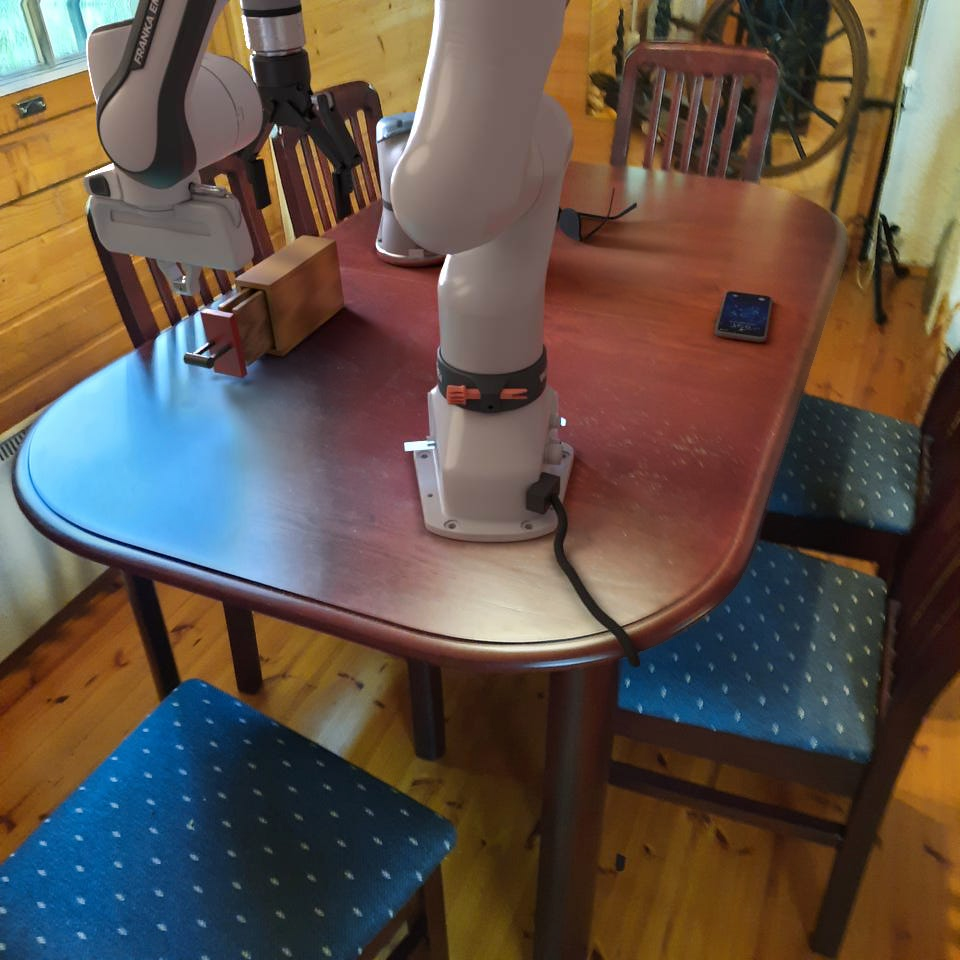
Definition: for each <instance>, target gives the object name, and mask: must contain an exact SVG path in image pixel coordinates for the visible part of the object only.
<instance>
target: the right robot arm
mask: <svg viewBox="0 0 960 960" xmlns="http://www.w3.org/2000/svg"><path fill="white" fill-rule="evenodd" d="M230 1H231V0H138V3H137V7H136V11H135V14H134V17H132V18H128V19H123V20H120V21H115V22H111V23H105V24H100V25H98V26H97V27H95V28H93V29H92V30H91V31H90V32H89V34H88V35H87V38H86V58H87V66H88V73H89V78H90V83H91V87H92V92H93V95H94V99H95V102H96V107H95V125H96V131H97V136H98V139H99V142H100V145H101V147H102V150H103V151H104V153H105V155H106V156H107V158H108V159H109V161H110V162H111V163H110V164H108V165H106V166H104V167H102V168H100V169H97V170H95V171H92V172H91V173H89V174H86V175H85V176H83V178H82V185H83V187H84V190H85V192H86V193H87V194H88V195H90V196H91V197H90V200H89V208H90V213H91V218H92V221H93V225H94V228H95V232H96V234H97V238H98V240H99V242H100V243H101V245H102V246H103V247H104V248H105V249H106V250H107V251H108V252H111V253H118V254H123V255H130V256H137V257H142V258H149V259H154V260H156V261H155V262H156V265H157V267H158V268H159V270H160V271H161V273H162V274H163V275H164V277H165V278H166V279H167V281H169V284H170V289H171V292H172V293H173V294H176V295H177V294H178V295H184V296H188V297H189V296H190V297H195V296H197V295H199V294H200V293H201V286H200V281H199V279H200V276H201V273H202V271H203V268H210V269H215V270H222V271H228V272H238V271H239V270H241V269H243V268H245V267H247V265H249V264H250V263H251V262H252V260H253V258H254V257H255V256H254V255H255V252H254V247H253V243H252V237H251V234H250V232H249V229H248V226H247V223H246V220H245V216H244V214H243V212H242V206H241V203H240V201H239V199H238V197H235V195H234V194H233V193H231V192H230V191H229V190H228V189H227V187H224V186H219V185H215V186H213V185H209V184H205V183H204V184H203V183H202V181H201V175H200V171H199V170H202V169H203V168H206V167H208V166H210V165H213V164H215V163H216V162H219V161H221V160H223V159H225V158H226V157H228V156H231V155H230V154H232V153H234V152H236V151H238V150H240V149H242V148H244V147H246V146H247V145H248V144H250V143H251V142H253V141H254V140H255V139H256V138H257V137H258V135H259V134H260V132H261V129H262V125H263V118H264V109H263V102H262V98H261V95H260V92H259V89H258V87H257V85H256V83H255V81H254V79H253V76H252V75H251V74H250V72H249V71H248V70H247V69H246V68H245V67H244V66H243V65H242V64H241V63H240V62H238V61H237V60H235V59H234V58H231V57H229V56H226V55H218V54H215V53H213V52H210V51H207V49H208V46H209V43H210V40H211V37H212V34H213V31H214V28H215V26H216V23H217V22H218V20H219V18H220V16H221V13H222V12H223V11H224V10H225V8H226V6H227V5H228V4H229V3H230ZM565 9H566V10H567V8H566V0H434V9H433V23H432V31H431V38H430V44H429V51H428V55H427V60H426V64H425V69H424V72H423V73H424V74H423V78H422V83H421V87H420V90H419V91H420V92H419V96H418V100H417V105H416V110H415V112H416V113H415V118H414V122H413V126H412V130H411V133H410V136H409V139H408V142H407V145H406V147H405V149H404V151H403V154H402V156H401V158H400V160H399V161H398V163H397V165H396V167H395V169H394V172H393V175H392V179H391V185H390V197H391V203H392V208H393V211H394V214H395V216H396V218H397V220H398V222H399V224H400V226H401V227H402V229H403V230H404V232H405V233H406V234H407V235H408V236H409V237H410V238H411V239H412V240H413V241H414V242H415V243H416V244H418V245H419V246H421V247H422V248H424V249H426V250H428V251H431V252H433V253H437V254H443V255H447V256H446V259H445V262H444V263H443V266H442V267H441V269H440V272H439V277H438V281H437V307H438V324H439V326H438V327H439V340H440V341H439V342H440V345H439V346H438V348H437V354H436V356H437V358H436V363H435V364H436V376H437V384H436V385H435V387H434V386H433V388H432V389H431V390H430V391H428V392H427V406H428V407H427V409H428V424H429V435H426V436H425V438H424V440H423V441H421V440H420V441H410V442H404V451H405V452H409V451H413V454H412V455H413V457H412V458H413V464H414V470H415V475H416V476H415V477H416V480H417V487H418V492H419V498H420V499H419V500H420V503H421V504H420V505H421V510H422V516H423V522H424V526H425V529H426V530H427V531H428V532H429V533H432V534H434V535H437V536H440V537H443V538H448V539H452V540H457V541H466V542H477V543H478V542H480V543H500V542H501V543H502V542H503V543H506V542H518V541H527V540H531V539H536V538H539V537H543V536H546V535H548V534H550V533H552V532H554V531H556V533H555V536H554V539H553V553H554V556H555V559H556V561H557V563H558V565H559V567H560V568H561V570H562V571H563V573H564V574H565V575H566V577H567V579H568V580H569V582H570V584H571V586H572V588H573V589H574V592H576V594H577V596H578V597H579V599H580V600H581V602H582V603H583V605H584V607H585V608H586V609H587V610H588V613H590V614H591V616H592V617H593V618H594V619H595V620H596V621H597V622H598V623H600V624H601V625H602V626H603V627H604V628H605V629H607V631H609V632H610V633H611V634H612V635H613V636H614V637H615V638H616V639H617V641H618V643H620V645H621V647H622V649H623V651H624V653H625V656H626V658H627V661H628V664H629V665H630V666H631V667H633V668H639V667H640V666H641V660H640V657H639V654H638V651H637V648H636V646H635V645H634V643H633V641H632V638H631V637H630V636H629V634H628V633H627V631H626V630H625V629H624V628H623V627H622V626H621V625H620V624H619V623H618V622H617V621H616V620H614V618H613V617H611V616H609V615H608V614H607V613H606V612H605V611H604V610H603V609H602V608H601V607H600V606H599V605H598V604H597V601H595V600H594V598H593V597H592V595H591V594H590V593H589V591H588V589H587V588H586V586H585V585H584V583H583V581H582V579H581V578H580V576H579V574H578V573H577V571H576V570H575V568H574V566H573V565H572V564H571V563H570V561H569V560H568V558H567V556H566V553H565V548H564V546H565V539H566V536H567V533H568V529H569V519H568V514H567V510H566V509H565V506H564V505H563V504H564V500H565V497H566V492H567V488H568V483H569V480H570V476H571V472H572V469H573V468H572V467H573V464H574V459H575V450H574V447H573V446H571V445H570V444H568V443H566V442H563V441H561V439H560V438H558V430H560V429H561V428H562V426H563V427H564V426H566V419H565V418H564V417H562V416H559V392H557V391H556V390H555V389H554V388H553V387H552V386H551V385H550V384H549V383H548V382H547V379H548V367H549V361H548V356H547V355H548V354H547V353H548V351H547V347H546V345H545V344H544V330H545V329H544V323H545V295H546V294H545V292H546V282H547V274H548V269H549V268H548V267H549V263H550V262H549V261H550V256H551V252H552V246H553V241H554V237H555V232H556V227H557V226H556V222H557V216H558V210H559V206H560V205H561V198H562V190H563V186H564V181H565V177H566V173H567V170H568V167H569V164H570V161H571V158H572V155H573V150H574V144H575V142H574V140H575V139H574V136H575V135H574V129H573V125H572V122H571V119H570V117H569V114H568V113H567V112H566V110H565V108H564V107H563V105H561V103H560V102H559V101H557V99H555V98H554V97H553V96H551V95H550V94H547V93H546V92H544V89H545V85H546V82H547V79H548V75H549V73H550V69H551V67H552V64H553V62H554V58H555V56H556V54H557V52H558V50H559V47H560V44H561V42H562V38H563V34H564V25H565V18H566V17H565V16H566V10H565ZM177 263H179V264H180V265H181V269H182V271H184V272H186V274H185V275H184V274H183V273H182V271H181V269H180V268H179V267H178V265H177ZM626 860H627V857H626V856H625V855H623V854H620V853H618V852H616V856H615V865H614V868H615V870H616V871H617V872H623V871H624V870H625V869H626V868H625V867H626Z"/></svg>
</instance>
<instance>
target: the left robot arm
mask: <svg viewBox="0 0 960 960" xmlns="http://www.w3.org/2000/svg"><path fill="white" fill-rule="evenodd" d="M570 2H571V0H566V9H565V11H566V10H567V9H568V7H569V4H570ZM239 3H240V9H241V18H242V24H243V29H244V30H243V31H244V35H245V41H246V46H247V48H248V49H249V50H250V51H251V53H250V56H249V62H250V67H251V73H252V78H253V80H254V81H255V83H256V85H257V87H258V89H259V92H260V95H261V98H262V102H263V110H264V118H263V125H262V129H261V132H260V134H259V135H258V137H257V138H256V139H255V140H254V141H253V142H251V143H250V144H248V145H247V146H246V147H244V148H242V149H240V150H238V151H236V152H234V153H232V154H230V155H229V156H231V157H232V158H238V159H240V160H241V161H242V163H243V164H244V169H245V175H246V180H247V182H248V184H249V185H250V186H252V191H253V196H254V201H255V206H256V210H259V211H262V210H264V209H266V208H268V207H269V206H271V205H272V204H273V203H272V198H271V193H270V186H269V182H268V176H267V171H266V166H265V160H264V158H259V157H261V154H260V153H261V151H262V149H263V148H264V146H265V144H266V142H267V140H268V139H269V138H270V137H269V136H270V135H271V133H272V131H273V130H274V128H275V126H276V127H285V126H287V127H289V128H295V129H296V128H298V127H299V129H300V130H301V132H303V133H306V134H307V135H308V137H310V139H311V140H312V142H314V144H315V146H317V148H318V149H319V151H320V152H321V153H323V156H324V157H325V158H326V159H327V160H328V162H329V163H330V164H331V165H332V166H333V167H334V169H335V170H334V171H332V172H331V179H332V188H333V196H334V202H335V203H334V204H335V210H336V216H337V220H338V221H339V220H340V221H343V220H345V219H346V218H348V217H349V216H351V215H352V214H353V212H352V203H351V195H350V194H352V193H354V182H353V175H352V174H353V173H352V170H353V169H354V168H356V167H358V166H360V165H361V164H363V163H364V158H363V155H362V153H361V152H360V150H359V148H358V146H357V144H356V142H355V140H354V139H353V136H352V134H351V133H350V130H349V129H348V127H347V124H346V123H345V121H344V119H343V117H342V114H341V113H340V111H339V110H338V107H337V102H336V98H335V97H336V96H335V94H334V91H332V90H326V91H324V92H320V93H319V92H318V93H314V91H313V88H312V86H311V84H312V83H311V80H312V72H311V66H310V65H311V64H310V57H309V53H308V52H309V51H307V50H306V49H305V48H304V47H305V46H306V44H307V39H306V32H305V31H306V30H305V23H304V17H303V7H302V0H239ZM314 107H315V109H314ZM315 110H316V111H319V114H320V116H319V115H318V113H317V112H316V111H315ZM415 113H416V111H408V112H402V113H396V114H392V115H391V114H390V115H387V116H384V117H382V118H381V119H380V120H379V121H378V122H377V124H376V140H375V144H376V147H377V158H378V169H379V178H380V188H381V198H382V212H381V218H380V221H379V227H378V231H377V236H376V240H375V248H376V255H377V257H378V258H379V259H381V260H382V261H384V262H385V263H388V264H391V265H395V266H400V267H410V268H411V267H413V268H414V267H415V268H416V267H417V268H418V267H420V268H421V267H431V266H436V265H441V264H444V262H445V259H446V256H447V255H443V254H437V253H433V252H431V251H428V250H426V249H424V248H422V247H421V246H419V245H418V244H416V243H415V242H414V241H413V240H412V239H411V238H410V237H409V236H408V235H407V234H406V233H405V232H404V230H403V229H402V227H401V226H400V224H399V222H398V220H397V218H396V216H395V214H394V211H393V208H392V203H391V197H390V185H391V179H392V175H393V172H394V169H395V167H396V165H397V163H398V161H399V160H400V158H401V156H402V154H403V151H404V149H405V147H406V145H407V142H408V139H409V136H410V133H411V130H412V126H413V122H414V118H415ZM322 121H323V123H324V124H323V123H322Z"/></svg>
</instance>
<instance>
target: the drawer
mask: <svg viewBox="0 0 960 960" xmlns="http://www.w3.org/2000/svg"><path fill="white" fill-rule="evenodd" d="M199 314H200V318H201V322H202V327H203V330H204V335H205V340H206V343H205V344H204V345H202V346H201V347H200V348H198V349H196V350H195V351H194V352H189V351H188V352H186V353H184V354H183V357H182V359H183V362H184V364H185V365H188V366H194V367H197V368H198V367H199V368H203V369H208V370H209V369H210V370H211V369H213V372H214V373H216V374H220V375H225V376H230V377H234V378H239V379H244V378H245V377H247V375H248V370H247V367H250V366H251V365H252V364H253V363H255V362H256V361H257V360H258V359H260V358H261V357H262V356H264V355H265V354H267V353H266V352H267V351H268V350H270V349H271V348H272V347H274V346H275V345H276V344H275V339H274V333H273V328H272V322H271V317H270V312H269V306H268V301H267V295H266V290H261V289H255V288H249V287H246V288H245V289H243V290H242V291H240V292H239V293H237V292H236V294H234V295H233V296H231V297H230V298H228V299H226V300H225V301H224V302H222V303H221V304H219V305H218V306H217V310H216V309H211V308H204V309H202V310H201V311H200V312H199ZM207 351H209V355H204V354H205V353H206V352H207Z"/></svg>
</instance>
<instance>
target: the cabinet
mask: <svg viewBox="0 0 960 960" xmlns="http://www.w3.org/2000/svg"><path fill="white" fill-rule="evenodd" d="M341 275H342V274H341V268H340V261H339V252H338V245H337V239H333V238H327V237H319V236H312V235H305V234H302V235H301V236H299V237H298V238H296V239H294V240H293V241H292V242H290V243H288V244H286V245H285V246H284V247H282V248H281V249H279V250H277V251H275V252H274V253H273V254H271V255H270V256H268V257H266V258H265V259H263V260H262V261H261V262H259V263H258V264H257V263H256V264H255V265H254V266H253V267H251V268H250V269H248V270H246V271H245V272H244V273H242V274H240V275H238V276H237V277H236V278H234V279H233V281H234V285H235V291H236V294H237V293H239V292H240V291H242V290H243V289H245V288H246V287H249V288H255V289H261V290H266V295H267V301H268V306H269V312H270V317H271V322H272V328H273V333H274V339H275V344H276V345H275V346H274V347H272V348H271V349H270V350H268V351H267V352H266V353H265V354H269V355H272V356H278V357H284V356H285V355H286V354H287V353H289V352H290V351H292V349H294V348H295V347H296V346H298V345H299V344H300V343H301V342H302V341H304V340H305V339H306V338H308V337H309V336H310V335H311V334H312V333H314V332H315V331H316V330H318V329H319V328H320V327H321V326H323V324H324V323H326V322H327V321H328V320H330V319H331V318H332V317H333V316H335V315H336V314H337V313H339V311H341V310H342V309H343V308H344V307H345V298H344V291H343V283H342V276H341Z"/></svg>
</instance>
